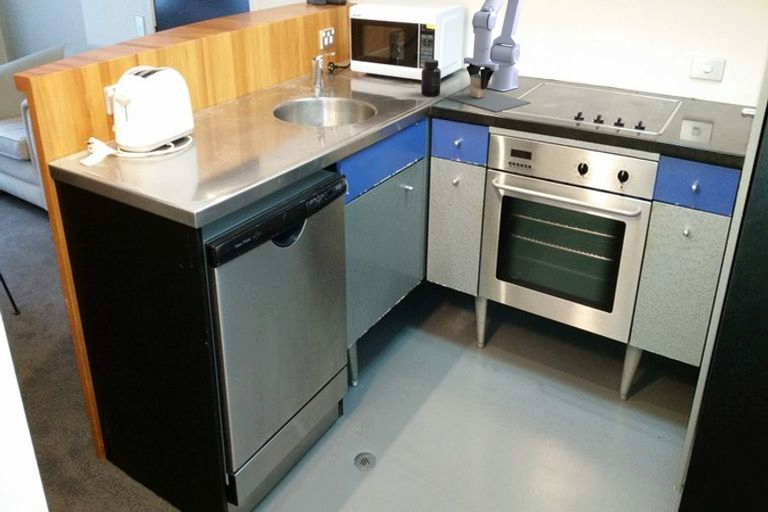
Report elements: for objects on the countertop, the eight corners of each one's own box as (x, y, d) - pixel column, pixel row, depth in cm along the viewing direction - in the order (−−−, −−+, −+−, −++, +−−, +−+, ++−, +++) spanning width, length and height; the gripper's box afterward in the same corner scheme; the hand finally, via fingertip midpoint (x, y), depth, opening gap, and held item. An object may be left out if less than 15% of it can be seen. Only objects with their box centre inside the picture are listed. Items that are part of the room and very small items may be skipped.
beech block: (477, 93, 253) (478, 73, 250) (485, 95, 251) (487, 75, 247) (469, 95, 251) (470, 75, 248) (478, 97, 248) (479, 77, 245)
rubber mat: (482, 90, 261) (482, 89, 261) (530, 103, 246) (530, 102, 246) (448, 98, 250) (448, 97, 250) (496, 112, 236) (496, 111, 235)
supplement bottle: (440, 92, 258) (441, 59, 252) (439, 97, 252) (441, 63, 246) (421, 91, 258) (422, 58, 253) (420, 96, 252) (421, 62, 247)
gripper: (458, 46, 246) (456, 85, 252) (490, 52, 236) (487, 93, 243) (472, 43, 250) (469, 82, 256) (504, 50, 240) (500, 90, 247)
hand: (479, 87), depth 250 cm, fingers closed on beech block, 4 cm apart
